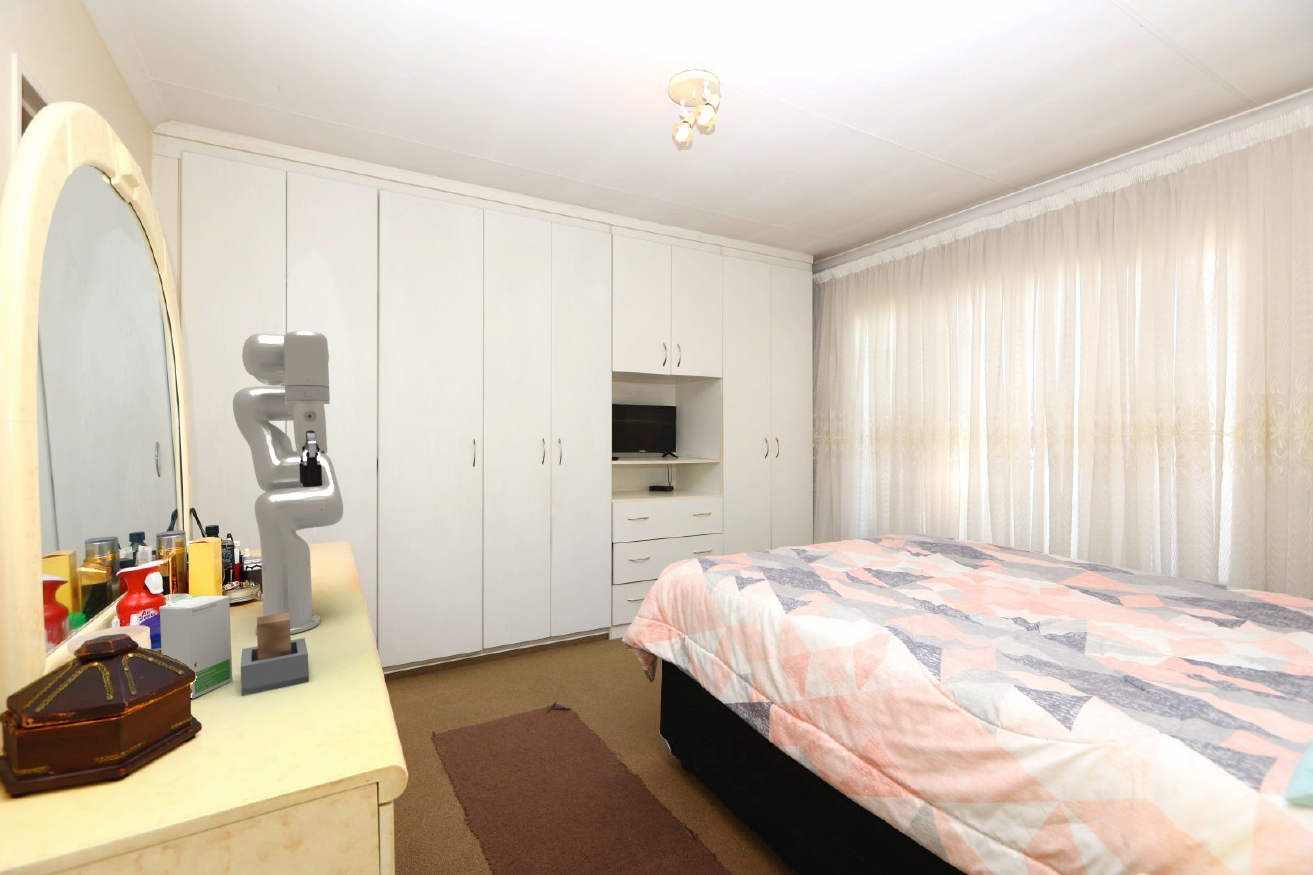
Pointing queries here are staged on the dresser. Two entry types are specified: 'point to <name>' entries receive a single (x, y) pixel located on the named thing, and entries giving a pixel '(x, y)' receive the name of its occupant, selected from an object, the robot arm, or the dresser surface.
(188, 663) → the skincare box
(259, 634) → the oak block
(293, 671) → the grey well
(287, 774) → the dresser surface
